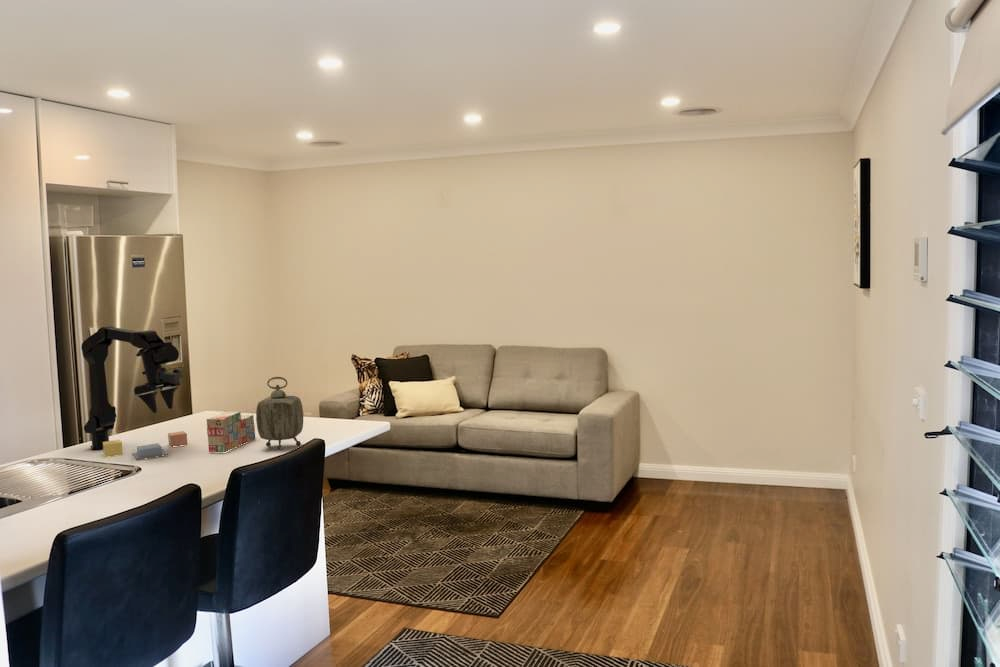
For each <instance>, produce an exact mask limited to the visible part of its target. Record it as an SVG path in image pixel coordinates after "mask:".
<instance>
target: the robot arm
mask: <svg viewBox="0 0 1000 667" xmlns="http://www.w3.org/2000/svg"><path fill="white" fill-rule="evenodd" d="M113 341H119V342H126V343H129V344H131V346H133V347H135V348H137V349H139V350H138V352H137V353H136V355H135V356H136V357H141V362H142V364H143V365H142V366H143V370H144V371H142V372H141V373H142V375H143V376H144V375H145V378H146V382H145V383H144V384H141V385H140V384H139V385H137V386H134V388H133V393H134V396H137V398H140V399H141V400H142V401H143V403H145V405H146V406H147V407H148V408H149V409H150V410H151V412H152V413H153V414H155V413H157V412H158V410H157V409H158V408H157V402H156V396H157V394H158V391H156V390H157V389H158V390H159V389H160V390H159V393H160V395H161V397H162V398H163V401H164V402H165V404H166V406H167V408H168V410H171V409H173V405H174V395H175V392H176V391H177V389H179V386H181V381H180V380H181V378H183V374H182V370H181V369H179V368H175V369H173V370H172V371H167V368H166V367H165V366H164V367H163V365H165V364H169V363H173V362H176V361H177V360H178V359H179V357H180V356H179V355H180V352H179V350H178V349H177V347H176V346H175V345H173V342H172V341H169V342H168V341H167V342H165V341H164V340H163V339H162V338H161V337H160V336H159V335H158V333H157V331H156V330H153V329H152V330H151V329H150V330H138V331H137V330H130V329H125V328H122V327H121V328H119V327H114V326H112V325H108V326H102V327H100V328H99V329H98V330H97V331H96V332H94V333H93V334H91V335H89V336H88V337H87V338H86V339H85V340H84V341H83V342H82V343H81V347H80V348H81V352H82V357H83V358H84V360H85V362H87V363H88V366H89V374H90V375H89V376H90V377H89V378H90V384H91V394H92V405H91V407H90V410H89V412H88V414H89V415H88V420H87V422H86V423H85V425H84V426H83V431H84V433H86V434H90V438H91V439H90V440H91V445H90V449H91V451H95V450H96V451H97V450H103V442H107V441H110V437H109V436H110V434H109V430H113V429H115V423H116V420H117V418H118V416H117V413H116V410H117V409H116V406H114V405H113V406H112V404H111V403H110V401H109V396H108V385H107V376H106V366H105V363H106V361H107V358H108V355H109V347H110V346H111V345H112V344H113Z"/></svg>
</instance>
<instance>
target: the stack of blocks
mask: <svg viewBox="0 0 1000 667" xmlns="http://www.w3.org/2000/svg"><path fill="white" fill-rule="evenodd" d="M241 413H242V412H241V411H224V412H221V413H218V414H216V415H213V416H210V417H208V418H206V427H207V428H206V433H207V442H208V453H209V452H226V451H228V450H230V449H233V448H235V447H238V446H239V445H241V444H244V443H246V442H248V443H250V442H252V441H251V440H253V441H255V440H256V428H255V426H256V425H255V422H254V414H241ZM254 439H255V440H254ZM249 441H250V442H249ZM246 444H247V443H246ZM244 445H245V444H244ZM238 448H239V447H238Z"/></svg>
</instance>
